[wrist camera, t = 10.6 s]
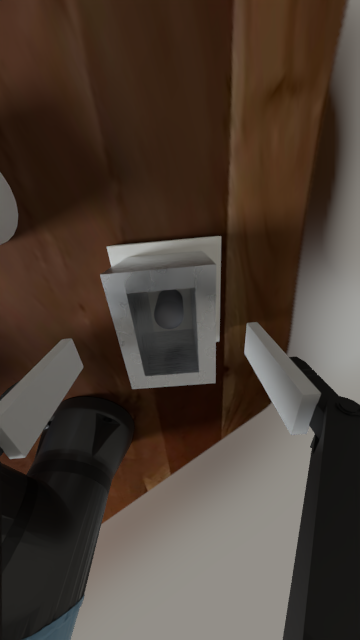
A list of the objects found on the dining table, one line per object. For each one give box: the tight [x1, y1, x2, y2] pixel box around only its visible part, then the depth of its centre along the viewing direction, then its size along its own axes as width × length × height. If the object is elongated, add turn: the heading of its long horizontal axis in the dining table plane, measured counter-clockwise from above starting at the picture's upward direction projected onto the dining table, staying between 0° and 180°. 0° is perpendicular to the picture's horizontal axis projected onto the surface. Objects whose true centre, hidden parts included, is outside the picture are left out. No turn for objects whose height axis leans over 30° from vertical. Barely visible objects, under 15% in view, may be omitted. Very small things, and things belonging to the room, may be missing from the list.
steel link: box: [100, 250, 216, 389], centre depth 19 cm, size 11×8×8 cm
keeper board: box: [107, 236, 221, 342], centre depth 20 cm, size 13×12×7 cm
